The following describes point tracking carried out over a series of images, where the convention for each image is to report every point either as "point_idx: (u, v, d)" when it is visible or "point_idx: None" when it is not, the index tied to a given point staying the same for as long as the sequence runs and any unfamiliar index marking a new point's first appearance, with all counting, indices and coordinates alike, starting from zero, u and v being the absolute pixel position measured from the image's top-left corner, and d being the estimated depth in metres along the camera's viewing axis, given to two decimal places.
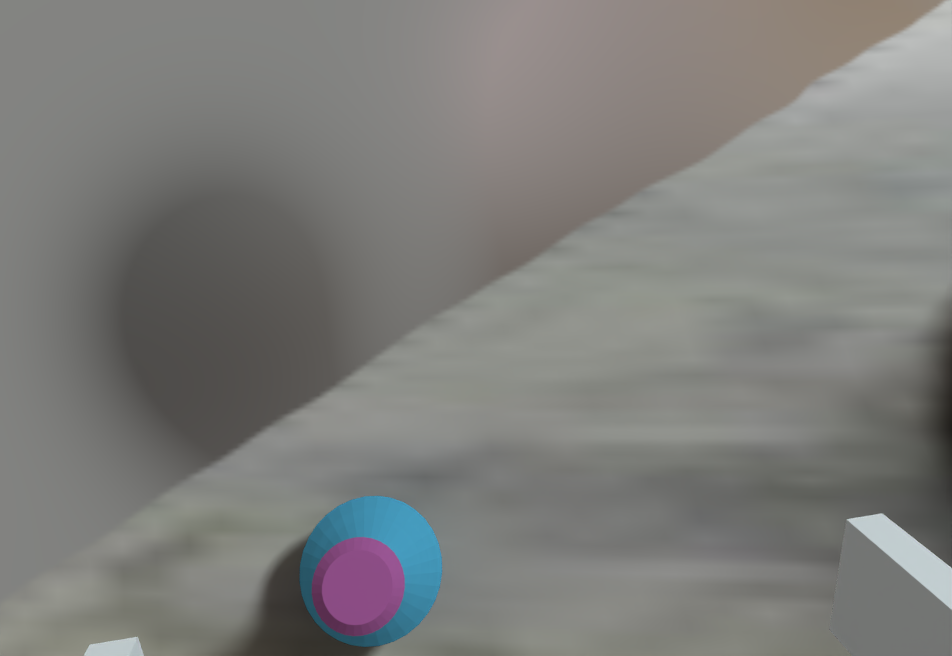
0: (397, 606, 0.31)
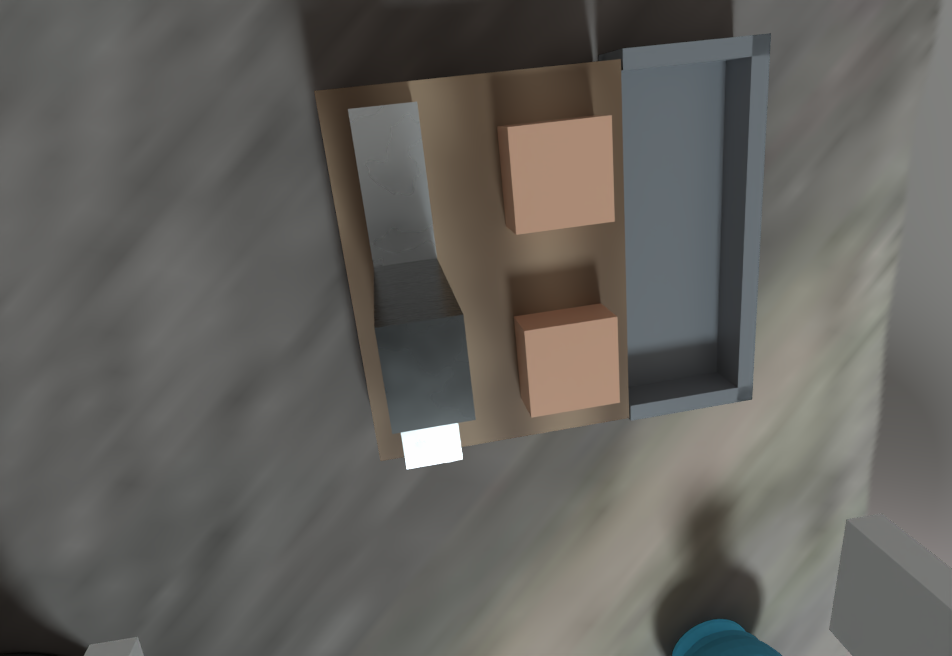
0: None
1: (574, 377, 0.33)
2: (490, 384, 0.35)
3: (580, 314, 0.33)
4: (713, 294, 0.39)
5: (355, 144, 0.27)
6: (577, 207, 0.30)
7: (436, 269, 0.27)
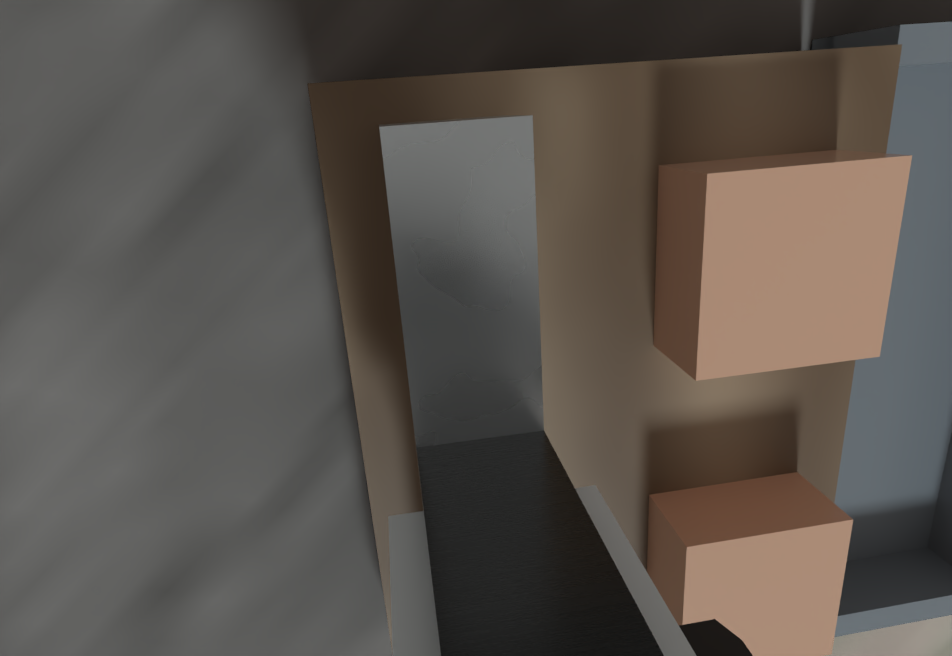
0: None
1: (762, 618, 0.18)
2: None
3: (774, 502, 0.18)
4: (943, 435, 0.24)
5: (392, 204, 0.12)
6: (817, 330, 0.15)
7: (559, 483, 0.12)
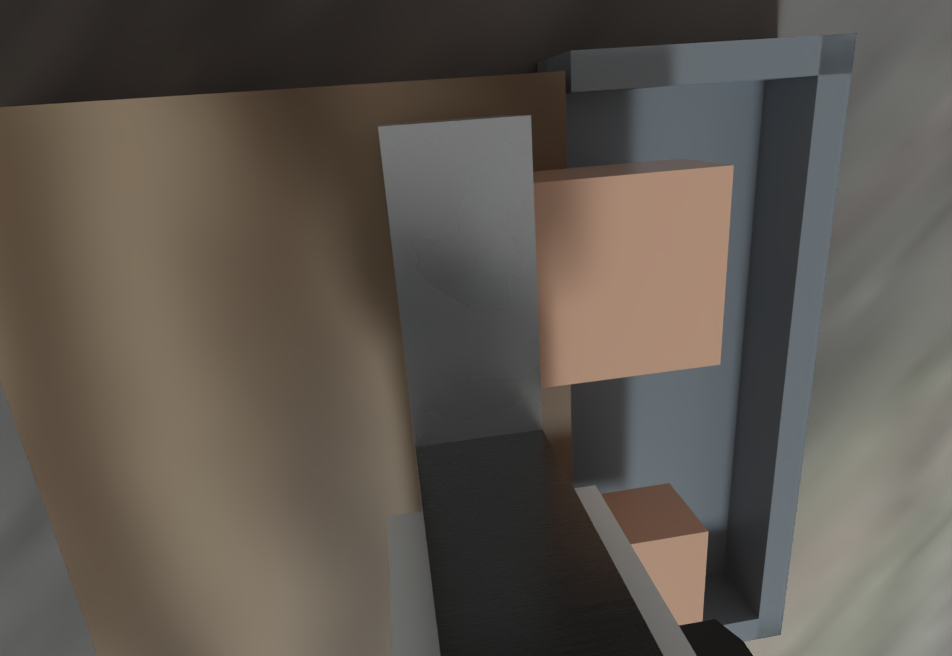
0: None
1: None
2: (328, 634, 0.20)
3: (637, 514, 0.19)
4: (724, 460, 0.24)
5: (391, 204, 0.12)
6: (653, 339, 0.15)
7: (558, 482, 0.12)
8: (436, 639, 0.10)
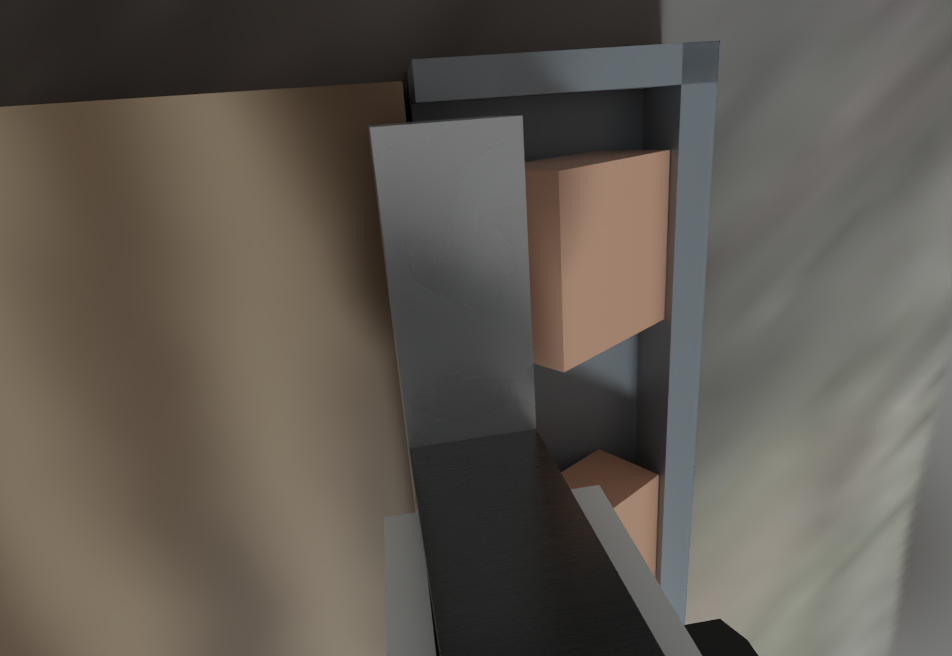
0: None
1: None
2: None
3: (599, 481, 0.21)
4: None
5: (383, 205, 0.12)
6: (632, 304, 0.17)
7: (553, 481, 0.12)
8: (431, 640, 0.10)
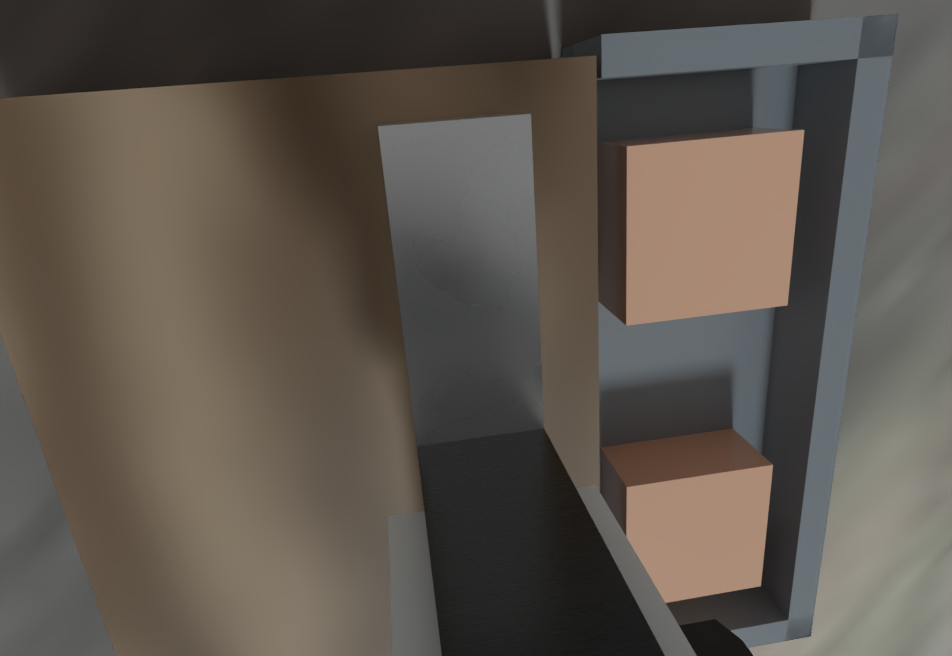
0: None
1: (696, 552, 0.21)
2: (350, 637, 0.19)
3: (708, 452, 0.21)
4: None
5: (391, 204, 0.12)
6: (731, 282, 0.18)
7: (559, 481, 0.12)
8: (436, 639, 0.10)
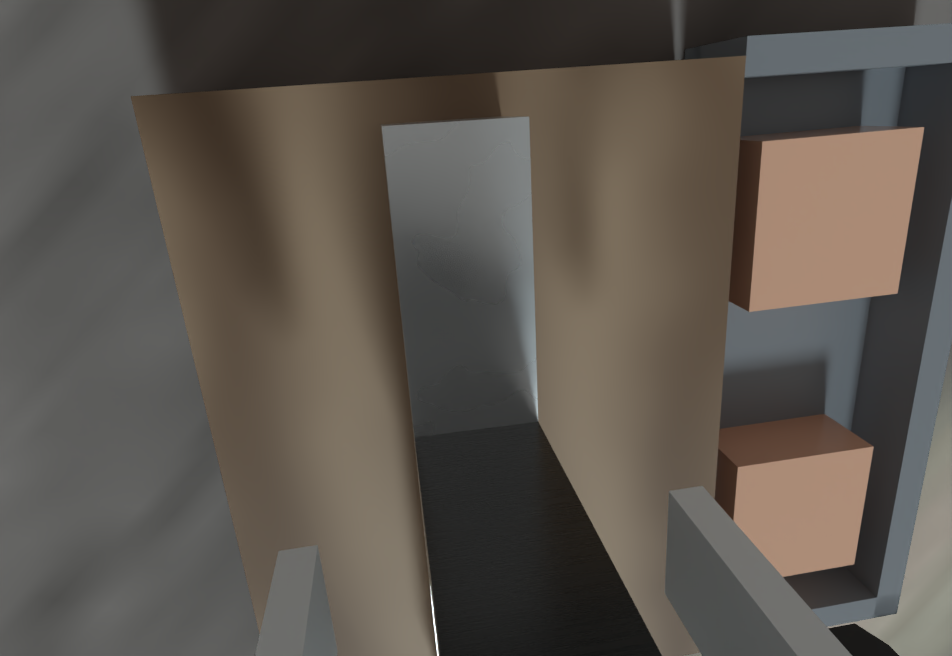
0: None
1: (797, 530, 0.22)
2: None
3: (807, 435, 0.22)
4: None
5: (393, 201, 0.13)
6: (847, 270, 0.19)
7: (552, 471, 0.13)
8: None
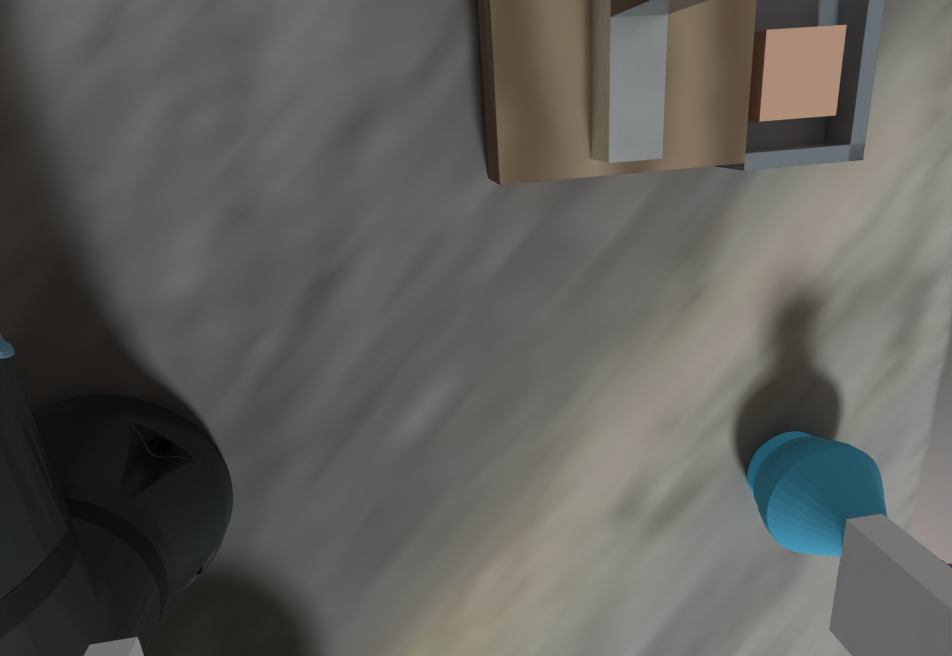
0: None
1: (801, 83, 0.37)
2: None
3: None
4: None
5: None
6: None
7: None
8: None
